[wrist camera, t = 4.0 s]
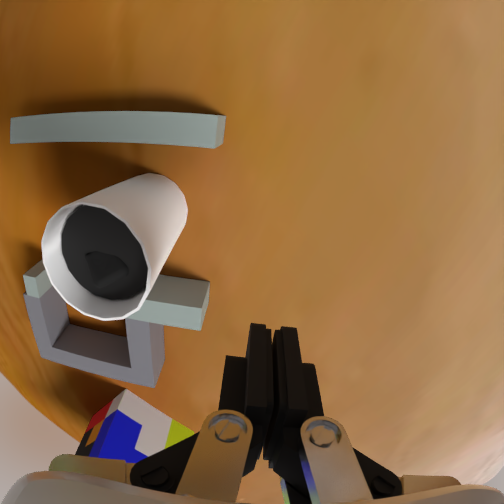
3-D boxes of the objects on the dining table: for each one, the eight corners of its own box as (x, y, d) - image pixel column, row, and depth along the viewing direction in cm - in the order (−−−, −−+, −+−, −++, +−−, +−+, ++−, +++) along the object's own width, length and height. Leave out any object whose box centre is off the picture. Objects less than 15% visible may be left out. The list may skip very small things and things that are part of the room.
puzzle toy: (126, 388, 32) (97, 457, 23) (194, 431, 35) (181, 499, 26) (93, 415, 35) (67, 472, 26) (152, 452, 38) (136, 509, 29)
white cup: (207, 233, 25) (175, 303, 16) (136, 260, 26) (81, 331, 17) (171, 152, 22) (112, 178, 13) (100, 188, 24) (23, 231, 14)
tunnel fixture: (226, 115, 21) (215, 115, 17) (204, 366, 30) (196, 404, 25) (-46, 127, 21) (-78, 134, 16) (-19, 309, 30) (-41, 330, 25)
